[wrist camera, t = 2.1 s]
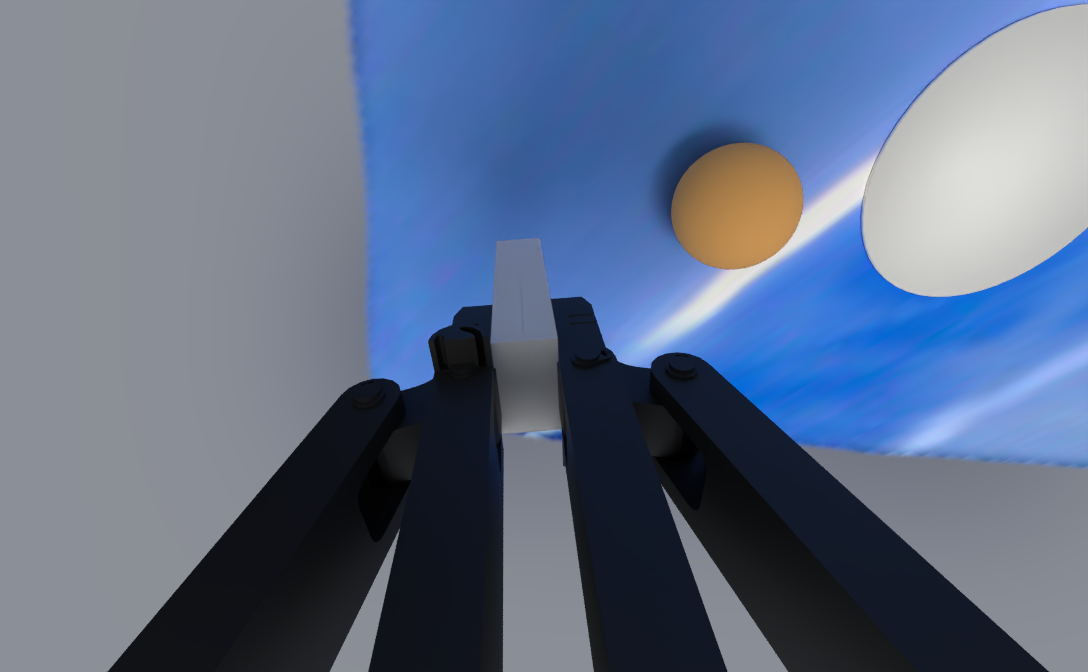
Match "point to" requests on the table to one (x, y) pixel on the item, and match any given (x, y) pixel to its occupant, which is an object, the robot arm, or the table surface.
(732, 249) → the ball
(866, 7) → the table surface
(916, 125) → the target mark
